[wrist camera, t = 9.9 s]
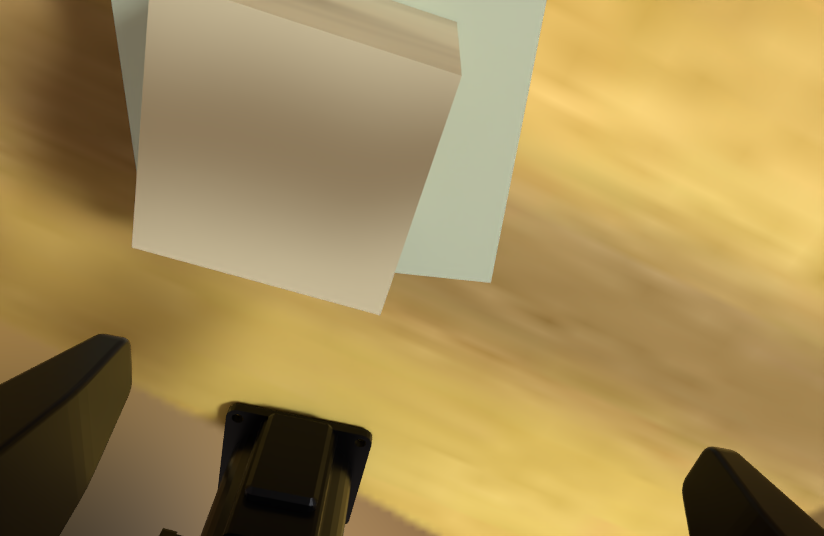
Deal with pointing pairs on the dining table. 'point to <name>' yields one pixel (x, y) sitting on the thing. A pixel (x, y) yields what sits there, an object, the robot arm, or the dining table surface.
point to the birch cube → (291, 138)
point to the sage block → (460, 141)
